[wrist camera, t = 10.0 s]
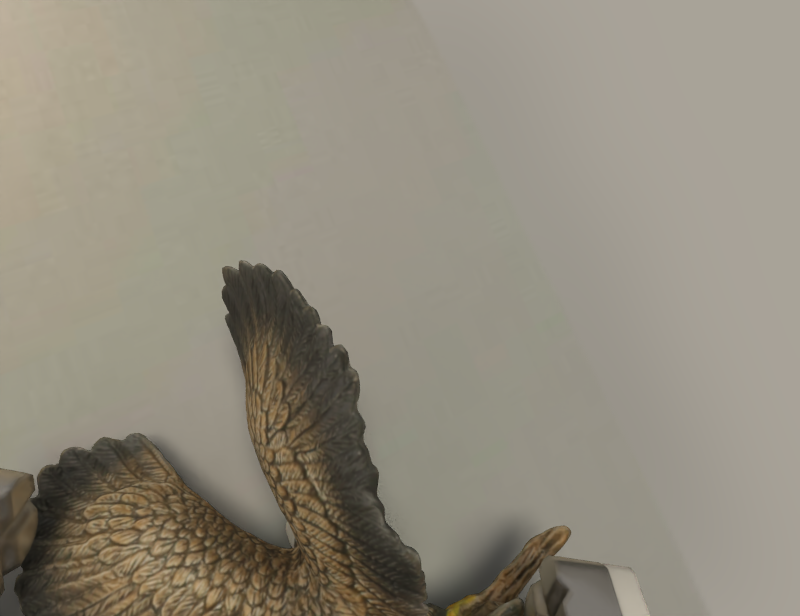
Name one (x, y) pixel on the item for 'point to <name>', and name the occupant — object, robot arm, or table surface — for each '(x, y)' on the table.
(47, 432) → the table surface
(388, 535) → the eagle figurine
